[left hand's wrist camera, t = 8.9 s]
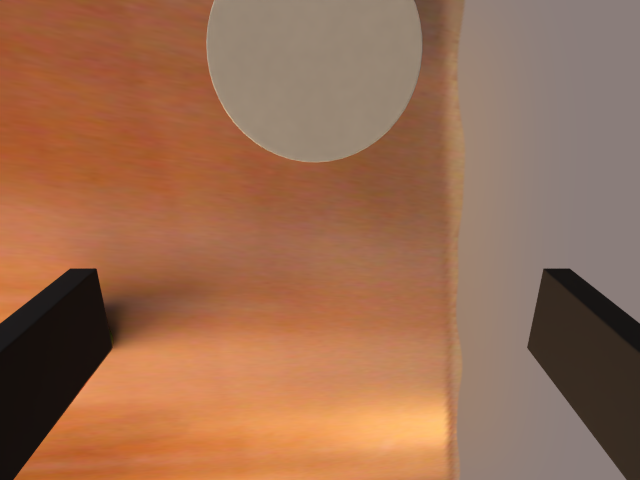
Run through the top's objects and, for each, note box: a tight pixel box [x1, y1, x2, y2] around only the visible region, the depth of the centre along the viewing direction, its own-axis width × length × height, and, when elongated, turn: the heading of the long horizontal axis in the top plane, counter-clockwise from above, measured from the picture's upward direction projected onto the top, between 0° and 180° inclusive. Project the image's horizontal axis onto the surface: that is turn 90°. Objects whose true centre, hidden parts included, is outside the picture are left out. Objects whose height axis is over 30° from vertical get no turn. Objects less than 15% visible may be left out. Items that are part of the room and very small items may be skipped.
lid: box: [207, 0, 422, 162], centre depth 20 cm, size 9×9×2 cm
